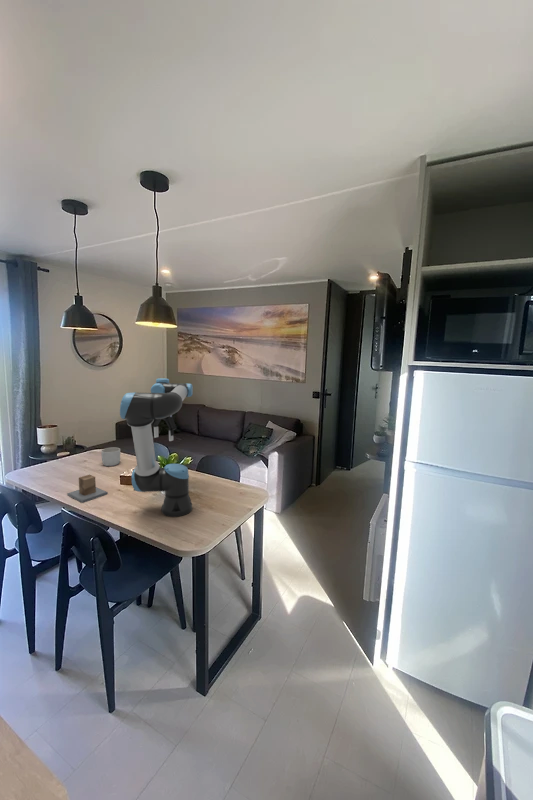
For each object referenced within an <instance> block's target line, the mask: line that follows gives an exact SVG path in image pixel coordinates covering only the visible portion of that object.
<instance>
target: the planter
mask: <svg viewBox="0 0 533 800" xmlns="http://www.w3.org/2000/svg"><path fill="white" fill-rule="evenodd" d="M100 453H101V462H102V465H103V466H104V467H114V466H117V465H119V463H120V462H121V448H119V447H106V448H103V449H101V451H100Z"/></svg>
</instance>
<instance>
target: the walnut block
mask: <svg viewBox="0 0 533 800" xmlns="http://www.w3.org/2000/svg"><path fill="white" fill-rule="evenodd" d="M96 487H97V485H96V476H94V475H93V474H87V475H83V476H80V477H78V490H79V493H80V494H82V495H85V496H86V495H89V494H92V493H95V492H96Z"/></svg>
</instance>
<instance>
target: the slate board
mask: <svg viewBox="0 0 533 800" xmlns="http://www.w3.org/2000/svg"><path fill="white" fill-rule="evenodd" d="M107 495H109V493H108V491H106V490H104V489H102V488H98V487H97V486H96V492H95V493H92V494H89V495H86V496H85V495H82V494H80V493H79V489H77V490H76V489H75V490H74V491H70V492H67V493H66V496H67V497H70V498H72V499H73V500H75V501H77V502H79V503H81V504H84V503H87V502H89V501H92V500H95V499H97V498H101V497H104V496H107Z"/></svg>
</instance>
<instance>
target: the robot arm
mask: <svg viewBox="0 0 533 800" xmlns="http://www.w3.org/2000/svg"><path fill="white" fill-rule="evenodd" d="M193 390H194V388H193V384H192V383H186V382H185V383H178V382H177V383H173V382H172V383H170V379H169V378H164V377H163V378H160V377H159V378H156V379H155V383H154V384H153V385H152V386H151V387H150V392H136V391H134V392H126V393H125V394H123V396H122V399H121V401H120V406H119V416H120V418H121V419H123V420H126V424H127V425H128V426H129V427H130V428H131V434H132V440H133V445H134V446H133V447H134V453H135V458H136V465H135V467H134V469H133V470H132V472H131V485H132V488H133V491H135V492H139V493H147V492H149V493H150V492H151V493H152V492H153V493H154V492H164V499H163V503H162V505H161V513H162V514H163V515H164V516H166V517H170V518H171V517H172V518H174V517H176V518H177V517H183V516H185V515H187V514H189V513H190V512H192V510H193V503H192V500H191V497H190V494H189V492H190V491H189V487H190V485H189V483H190V482H189V481H190V479H189V478H190V475H189V469H188V467H187V466H186V465H183V464H180V463H168V464H166V465H165V466H164V467H160V466H161V465H160V464H159V462H157V460H156V453H155V445H154V439H155V438H159V424H160V423H161V421H162V420H163V421H164V422H165V424H166V426H167V427H168V429H169V430H168V441H169V442H172V441H174V435H175V430H177V428H178V427H177V425H176V423H175V420H174V416H173V415H176V413H178V412H179V411H180V410H181V408H182V407H183V401H184V400H185V399H186V398H190V397H192V396H193V393H194V391H193ZM152 427H153V428H152Z"/></svg>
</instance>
